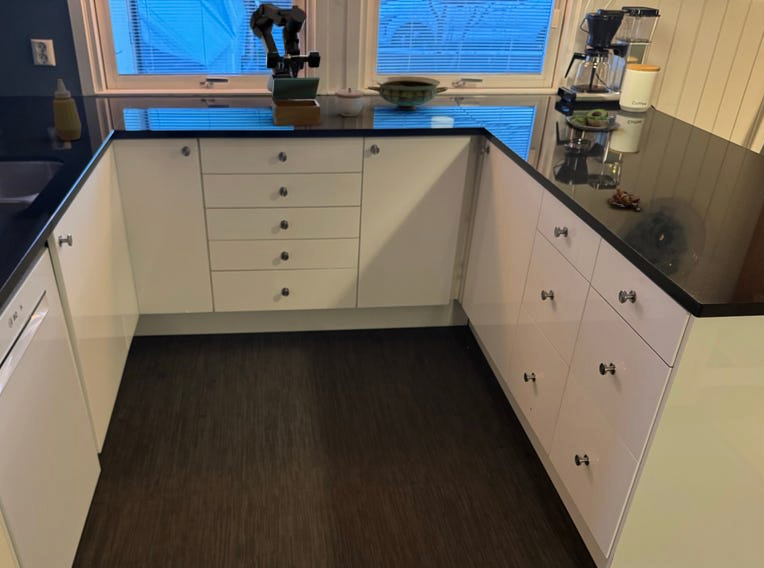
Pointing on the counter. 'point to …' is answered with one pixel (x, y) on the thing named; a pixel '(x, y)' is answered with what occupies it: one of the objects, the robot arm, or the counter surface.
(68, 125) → the squeeze bottle
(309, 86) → the lid
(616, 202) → the pastry
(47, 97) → the counter surface
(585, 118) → the salad plate
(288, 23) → the robot arm
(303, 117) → the toy box
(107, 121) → the counter surface
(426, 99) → the ceramic bowl
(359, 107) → the trinket box
